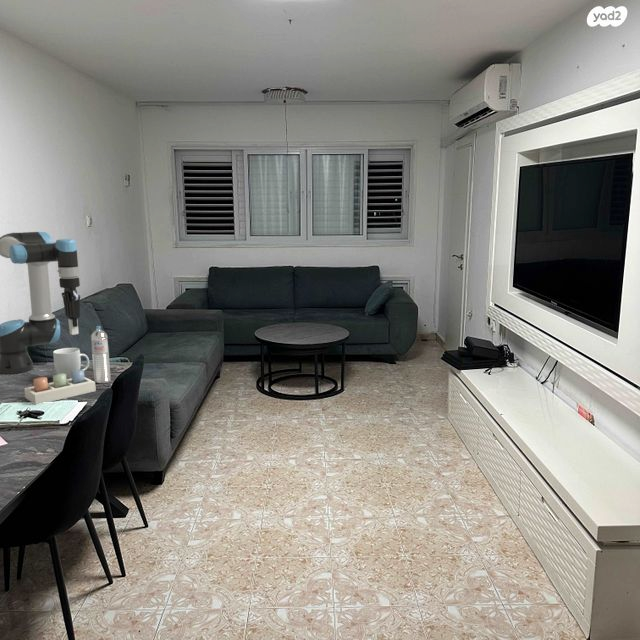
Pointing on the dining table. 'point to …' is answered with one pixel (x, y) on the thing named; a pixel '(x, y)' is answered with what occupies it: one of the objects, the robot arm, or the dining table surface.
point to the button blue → (77, 376)
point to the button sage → (59, 380)
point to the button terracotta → (40, 384)
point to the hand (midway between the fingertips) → (74, 333)
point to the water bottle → (100, 356)
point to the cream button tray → (59, 391)
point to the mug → (68, 361)
